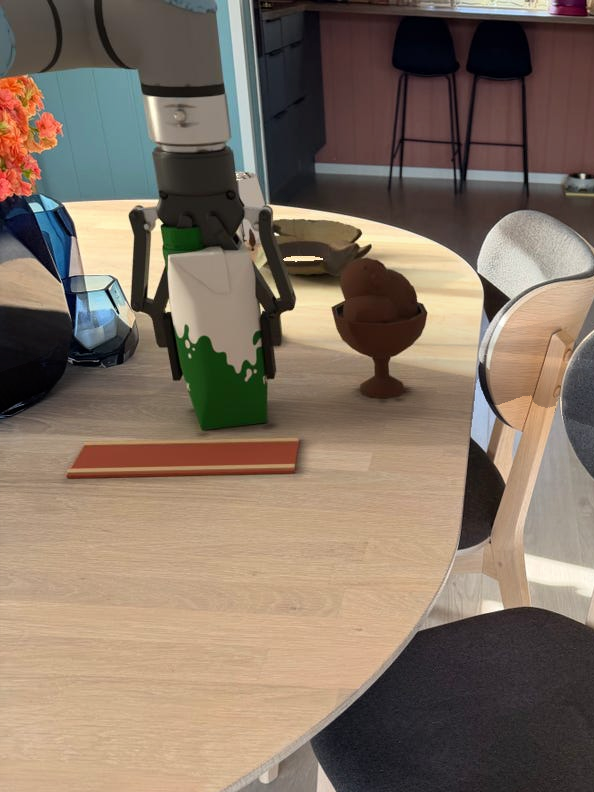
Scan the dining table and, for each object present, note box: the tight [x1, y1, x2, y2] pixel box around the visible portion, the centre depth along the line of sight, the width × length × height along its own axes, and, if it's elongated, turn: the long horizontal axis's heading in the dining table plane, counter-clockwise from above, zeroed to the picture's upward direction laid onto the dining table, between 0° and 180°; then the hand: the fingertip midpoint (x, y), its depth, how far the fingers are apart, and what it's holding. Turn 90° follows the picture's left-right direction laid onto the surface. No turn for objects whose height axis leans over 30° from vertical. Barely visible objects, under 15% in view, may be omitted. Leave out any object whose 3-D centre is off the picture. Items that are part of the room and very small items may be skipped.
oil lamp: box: [262, 218, 373, 277], centre depth 150 cm, size 22×30×8 cm
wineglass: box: [236, 171, 267, 270], centre depth 119 cm, size 8×8×20 cm
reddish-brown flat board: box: [66, 437, 300, 479], centre depth 95 cm, size 22×8×1 cm, turn 95°
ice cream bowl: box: [330, 257, 428, 399], centre depth 107 cm, size 11×11×15 cm
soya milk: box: [160, 223, 269, 431], centre depth 98 cm, size 9×9×20 cm
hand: (225, 375), depth 101 cm, fingers closed on soya milk, 9 cm apart
